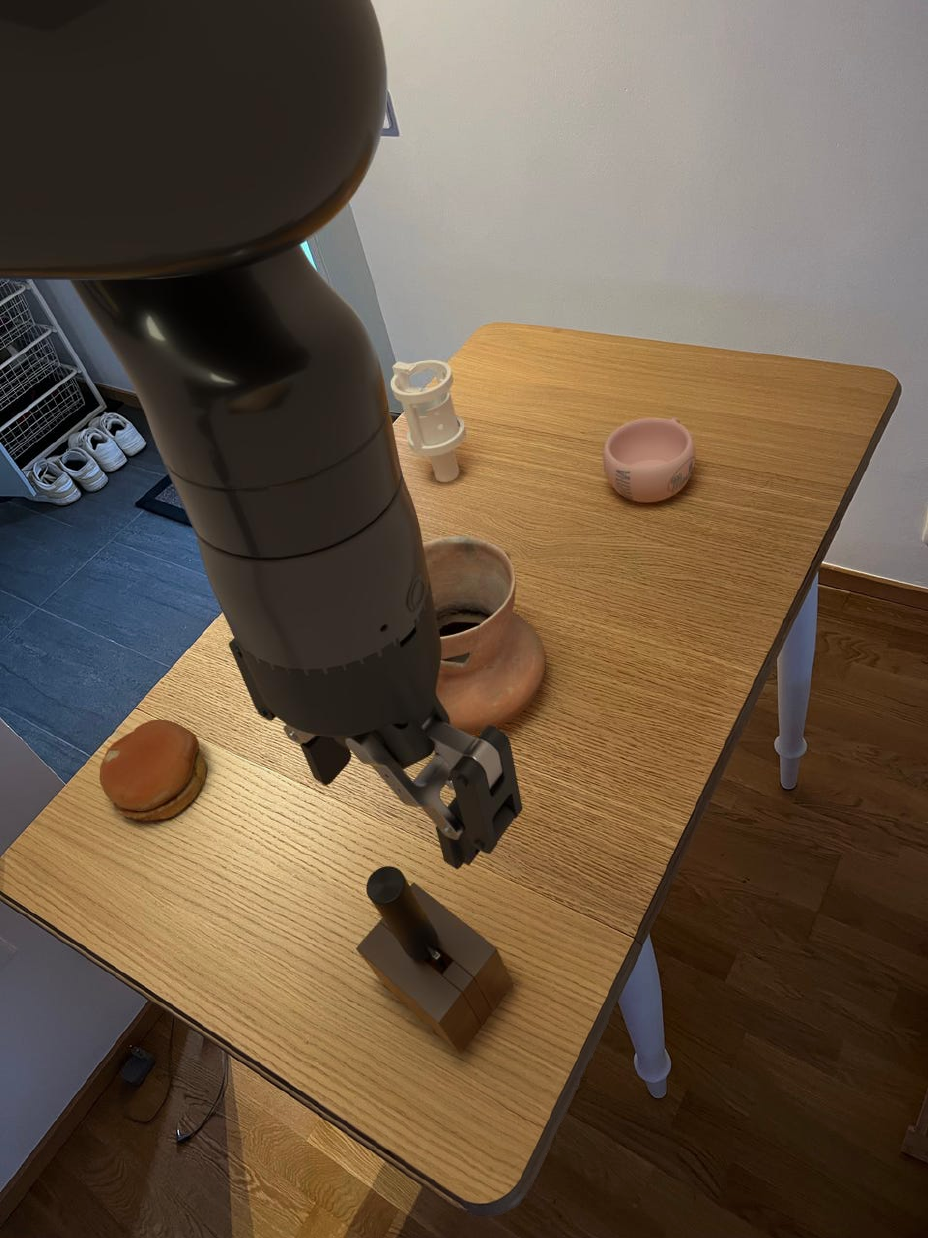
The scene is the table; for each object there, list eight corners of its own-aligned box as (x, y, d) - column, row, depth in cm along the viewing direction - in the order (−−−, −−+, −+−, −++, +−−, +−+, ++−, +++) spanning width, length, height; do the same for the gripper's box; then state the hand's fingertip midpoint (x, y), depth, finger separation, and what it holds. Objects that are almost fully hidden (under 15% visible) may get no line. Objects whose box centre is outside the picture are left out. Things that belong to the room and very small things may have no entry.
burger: (207, 810, 77) (184, 784, 73) (111, 837, 77) (84, 812, 74) (211, 726, 84) (191, 699, 80) (123, 751, 84) (99, 724, 81)
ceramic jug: (494, 783, 72) (461, 684, 62) (366, 728, 79) (317, 630, 69) (586, 637, 81) (570, 529, 71) (463, 599, 88) (432, 496, 78)
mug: (668, 523, 90) (667, 480, 86) (589, 499, 95) (584, 457, 91) (719, 458, 95) (720, 415, 91) (641, 439, 100) (639, 397, 96)
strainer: (441, 451, 107) (412, 346, 97) (485, 463, 104) (461, 355, 93) (408, 484, 104) (375, 379, 93) (453, 498, 100) (424, 390, 90)
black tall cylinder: (452, 1011, 60) (389, 916, 48) (421, 984, 62) (353, 885, 50) (473, 984, 61) (417, 883, 49) (442, 958, 63) (380, 854, 51)
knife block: (460, 1055, 58) (438, 1023, 53) (382, 983, 63) (355, 948, 58) (513, 984, 61) (497, 948, 56) (435, 920, 65) (413, 881, 60)
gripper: (124, 579, 32) (248, 798, 44) (415, 743, 25) (467, 949, 37) (262, 471, 36) (341, 700, 47) (546, 591, 29) (555, 821, 41)
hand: (396, 809), depth 42 cm, fingers open, 8 cm apart
